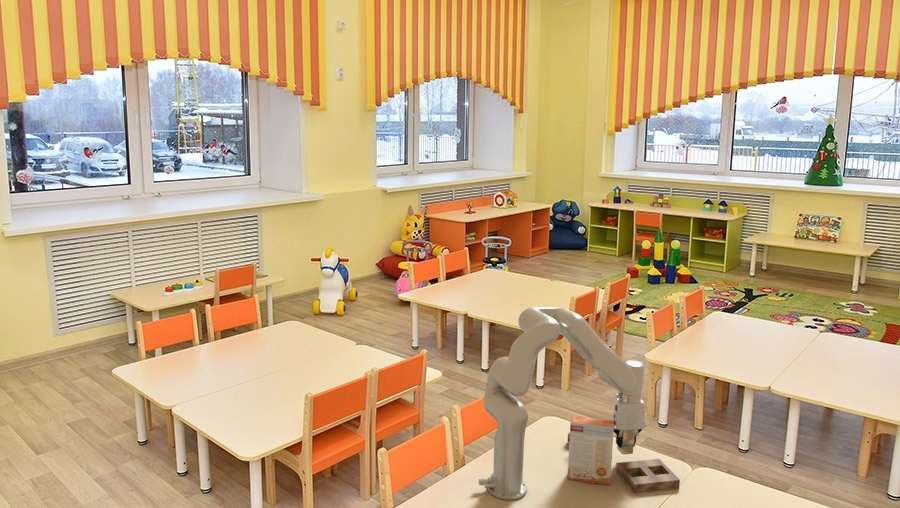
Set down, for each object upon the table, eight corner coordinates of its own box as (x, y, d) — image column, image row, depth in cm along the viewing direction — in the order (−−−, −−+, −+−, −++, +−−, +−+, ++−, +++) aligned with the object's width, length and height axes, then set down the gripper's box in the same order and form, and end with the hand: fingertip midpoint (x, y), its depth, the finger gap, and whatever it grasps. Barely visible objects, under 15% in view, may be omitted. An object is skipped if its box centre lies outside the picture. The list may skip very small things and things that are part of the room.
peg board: (634, 492, 229) (634, 484, 228) (615, 470, 242) (616, 462, 241) (679, 488, 232) (679, 479, 231) (658, 466, 245) (659, 458, 245)
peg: (622, 454, 245) (624, 427, 242) (616, 448, 248) (619, 422, 246) (632, 453, 245) (635, 427, 243) (627, 448, 249) (630, 421, 247)
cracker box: (610, 477, 238) (614, 419, 233) (609, 486, 232) (613, 427, 228) (568, 470, 242) (572, 414, 237) (566, 479, 236) (570, 421, 231)
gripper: (612, 402, 237) (607, 452, 241) (657, 399, 241) (652, 449, 245) (603, 393, 244) (598, 442, 248) (647, 391, 248) (642, 439, 252)
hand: (625, 445), depth 246 cm, fingers closed on peg, 4 cm apart
